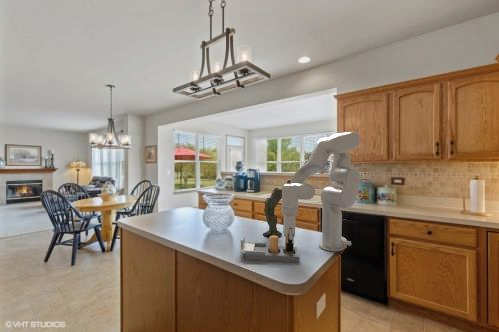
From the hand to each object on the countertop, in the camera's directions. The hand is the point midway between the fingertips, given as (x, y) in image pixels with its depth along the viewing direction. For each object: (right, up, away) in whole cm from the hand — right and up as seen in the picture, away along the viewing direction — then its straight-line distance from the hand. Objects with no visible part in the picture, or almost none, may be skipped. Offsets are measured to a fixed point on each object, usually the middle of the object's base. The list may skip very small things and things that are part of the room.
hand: (289, 249), depth 109 cm
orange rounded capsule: (-7, -3, +1) cm, 8 cm away
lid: (-19, -1, +2) cm, 20 cm away
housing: (-8, -3, +1) cm, 9 cm away
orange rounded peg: (0, -2, 0) cm, 2 cm away
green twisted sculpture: (-4, -3, +32) cm, 32 cm away
